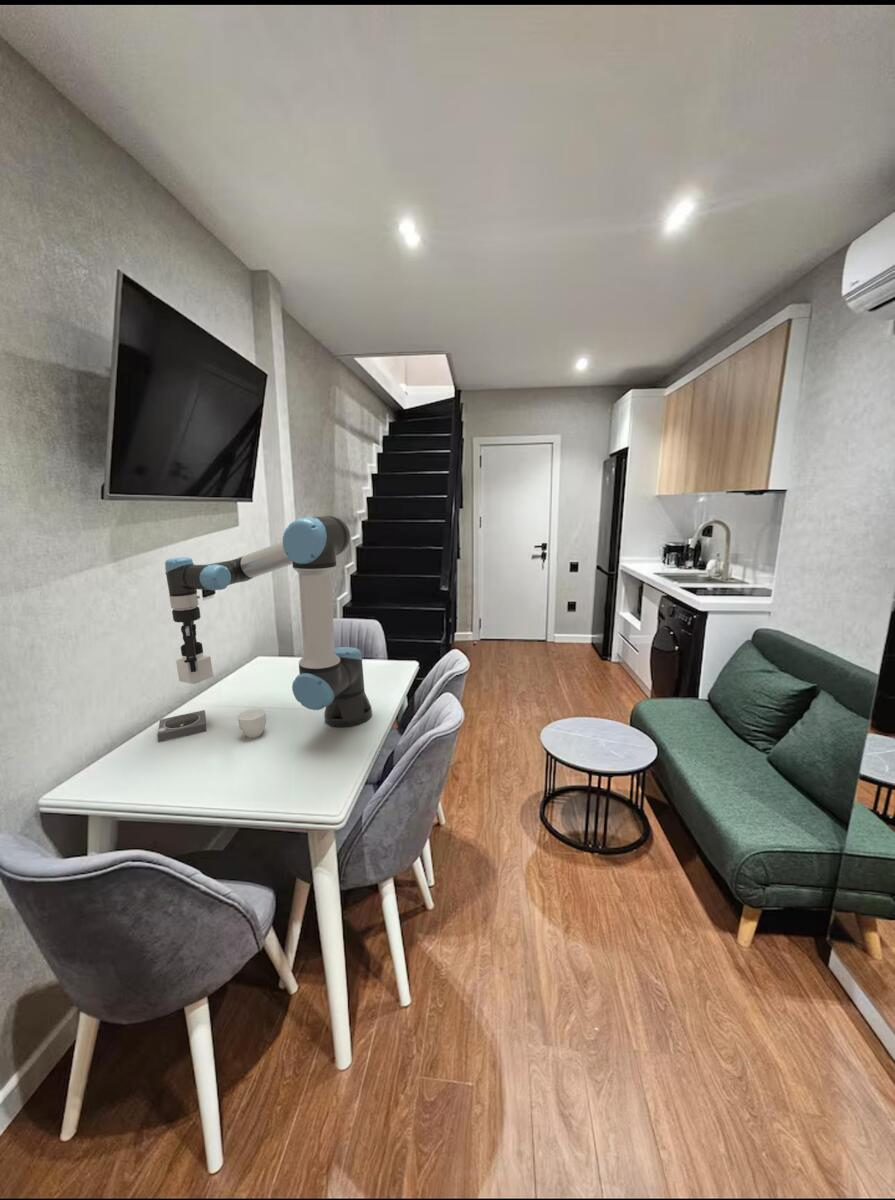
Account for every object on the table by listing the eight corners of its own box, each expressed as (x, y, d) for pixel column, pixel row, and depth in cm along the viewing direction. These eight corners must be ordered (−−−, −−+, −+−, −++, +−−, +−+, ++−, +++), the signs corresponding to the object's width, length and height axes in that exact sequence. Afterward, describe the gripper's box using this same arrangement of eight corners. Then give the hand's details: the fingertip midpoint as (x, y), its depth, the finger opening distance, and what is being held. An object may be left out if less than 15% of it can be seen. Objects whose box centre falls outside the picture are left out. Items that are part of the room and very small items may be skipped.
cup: (237, 742, 141) (234, 721, 139) (246, 726, 150) (244, 707, 149) (264, 739, 142) (261, 718, 140) (272, 724, 151) (269, 704, 150)
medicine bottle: (213, 676, 153) (208, 641, 151) (193, 684, 147) (188, 647, 144) (199, 673, 156) (193, 639, 154) (178, 681, 150) (173, 645, 147)
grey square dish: (206, 731, 149) (204, 721, 148) (158, 742, 143) (156, 732, 142) (205, 716, 159) (204, 707, 159) (161, 726, 153) (159, 717, 153)
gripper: (198, 613, 138) (208, 684, 143) (199, 600, 158) (209, 663, 163) (168, 616, 135) (180, 689, 140) (174, 602, 155) (184, 667, 159)
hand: (195, 675), depth 151 cm, fingers closed on medicine bottle, 10 cm apart
